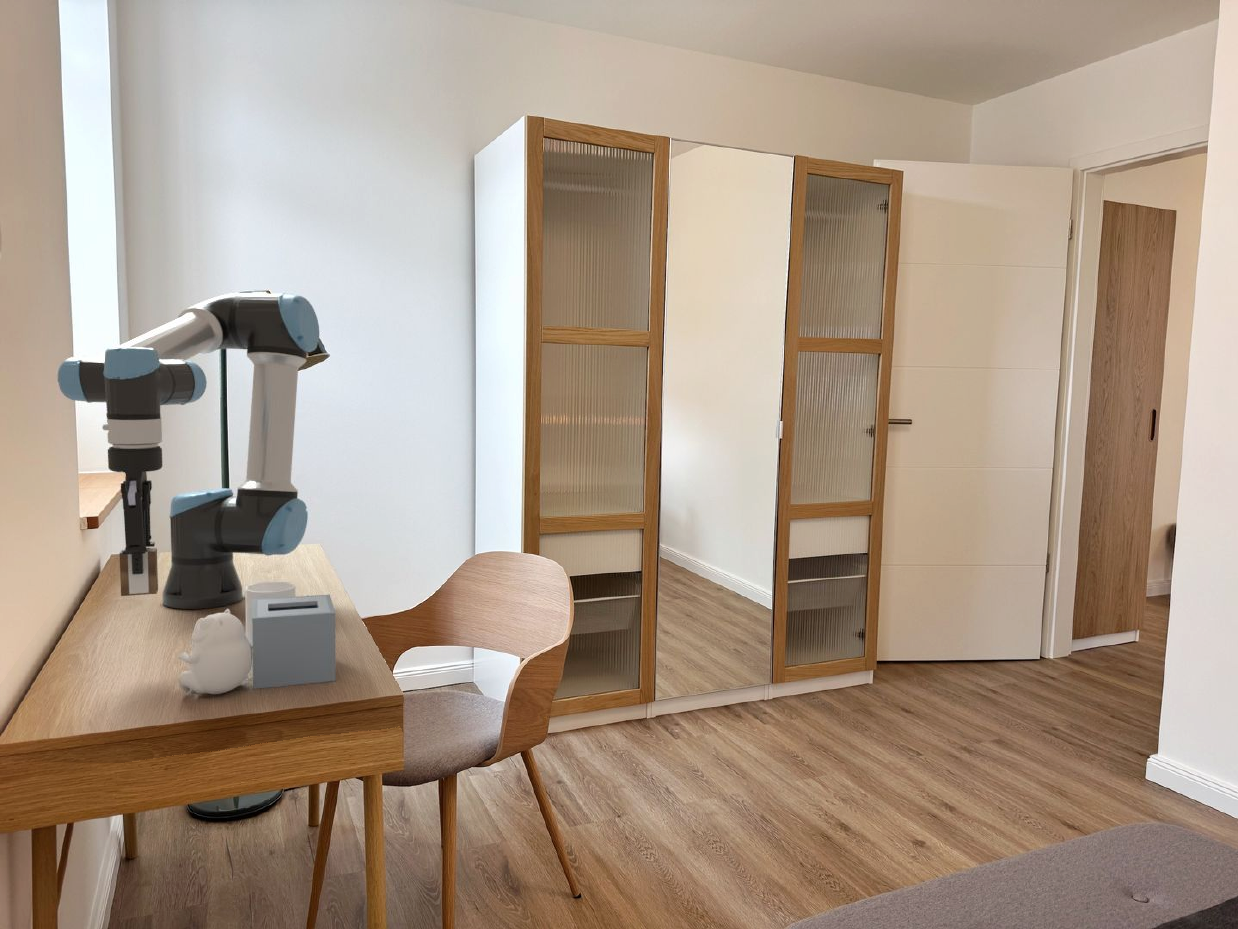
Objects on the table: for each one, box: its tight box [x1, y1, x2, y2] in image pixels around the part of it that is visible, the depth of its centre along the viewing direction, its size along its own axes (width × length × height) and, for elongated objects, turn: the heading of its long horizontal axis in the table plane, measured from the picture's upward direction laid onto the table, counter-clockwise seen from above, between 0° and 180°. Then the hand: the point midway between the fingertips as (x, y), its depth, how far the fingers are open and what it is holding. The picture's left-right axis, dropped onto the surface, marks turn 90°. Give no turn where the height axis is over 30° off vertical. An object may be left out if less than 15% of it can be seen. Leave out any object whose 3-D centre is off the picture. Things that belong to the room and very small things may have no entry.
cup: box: [244, 580, 296, 648], centre depth 157 cm, size 8×12×10 cm
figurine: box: [177, 608, 253, 695], centre depth 131 cm, size 10×10×12 cm
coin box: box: [252, 594, 336, 690], centre depth 140 cm, size 12×12×11 cm
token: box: [119, 547, 159, 597], centre depth 140 cm, size 2×5×7 cm, turn 112°
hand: (140, 590), depth 140 cm, fingers closed on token, 2 cm apart
